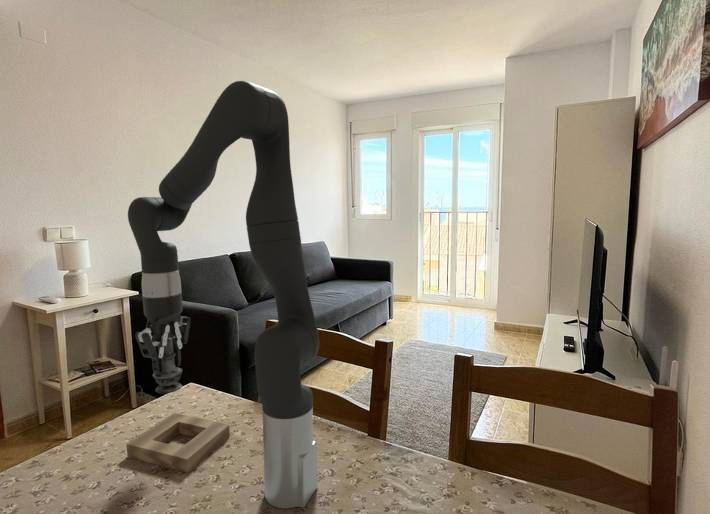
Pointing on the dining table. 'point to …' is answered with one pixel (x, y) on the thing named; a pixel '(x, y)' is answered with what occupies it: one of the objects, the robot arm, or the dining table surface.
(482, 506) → the dining table surface
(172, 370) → the grey tall tiered piece
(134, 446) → the tan picture frame
